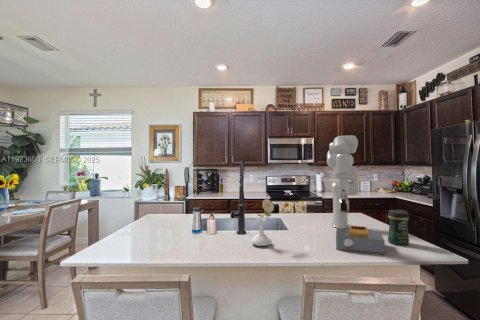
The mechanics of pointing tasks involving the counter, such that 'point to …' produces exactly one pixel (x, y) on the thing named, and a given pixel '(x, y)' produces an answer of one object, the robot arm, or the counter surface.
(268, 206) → the flower in vase
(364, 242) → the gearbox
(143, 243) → the counter surface
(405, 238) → the coffee jar
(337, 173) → the robot arm
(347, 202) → the brass can
